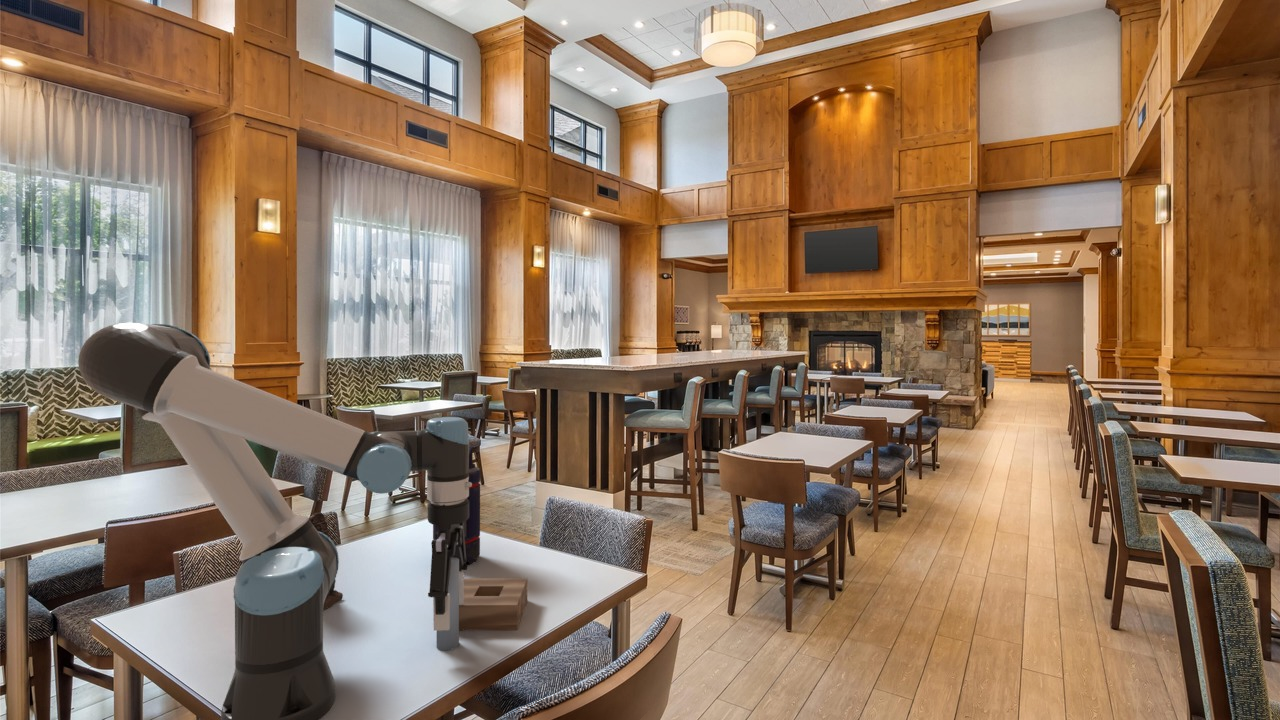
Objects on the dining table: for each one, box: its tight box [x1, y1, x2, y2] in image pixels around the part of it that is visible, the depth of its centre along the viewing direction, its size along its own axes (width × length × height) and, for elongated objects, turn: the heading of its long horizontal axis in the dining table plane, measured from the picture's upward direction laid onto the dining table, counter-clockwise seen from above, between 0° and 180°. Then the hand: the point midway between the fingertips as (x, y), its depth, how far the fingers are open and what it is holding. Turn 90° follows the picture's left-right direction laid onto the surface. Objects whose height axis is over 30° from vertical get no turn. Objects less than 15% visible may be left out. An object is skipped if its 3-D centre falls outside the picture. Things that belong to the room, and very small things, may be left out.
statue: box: [308, 512, 344, 611], centre depth 132 cm, size 7×7×20 cm
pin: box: [436, 557, 460, 651], centre depth 114 cm, size 4×4×16 cm
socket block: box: [459, 577, 528, 631], centre depth 127 cm, size 14×14×5 cm
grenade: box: [432, 446, 481, 565], centre depth 158 cm, size 14×12×30 cm
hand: (449, 616), depth 115 cm, fingers open, 9 cm apart
